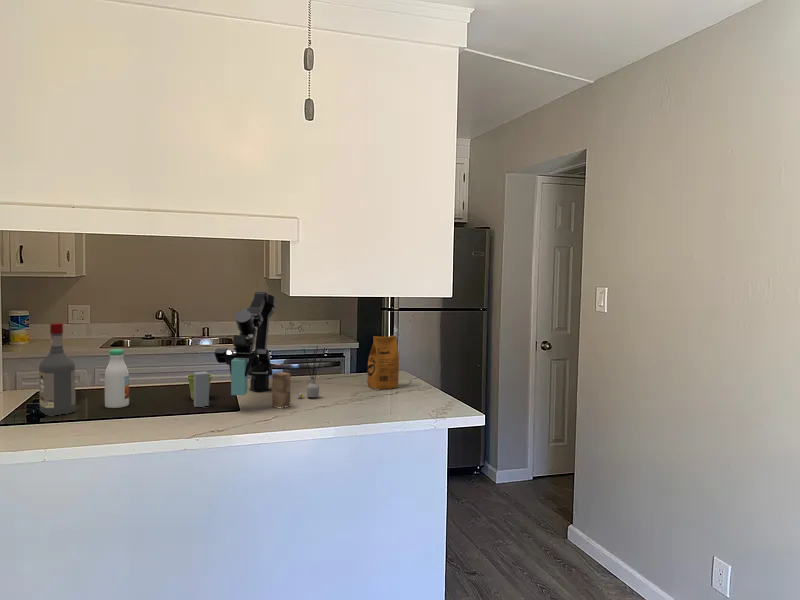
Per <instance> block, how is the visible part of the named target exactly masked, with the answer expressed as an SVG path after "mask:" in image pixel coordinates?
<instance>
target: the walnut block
mask: <svg viewBox="0 0 800 600" xmlns="http://www.w3.org/2000/svg"><path fill="white" fill-rule="evenodd" d="M271 377H272V378H271V379H272V381H271V382H272V383H271V384H272V385H271V386H272V388H271V390H272V391H271V393H272V394H271V395H272V397H271V401H272V402H271V407H272V406H276V407H281V408H282V407H285V406H289V405H290V406H291V373H289V372H283V371H281V372H276V373H272V375H271Z"/></svg>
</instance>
